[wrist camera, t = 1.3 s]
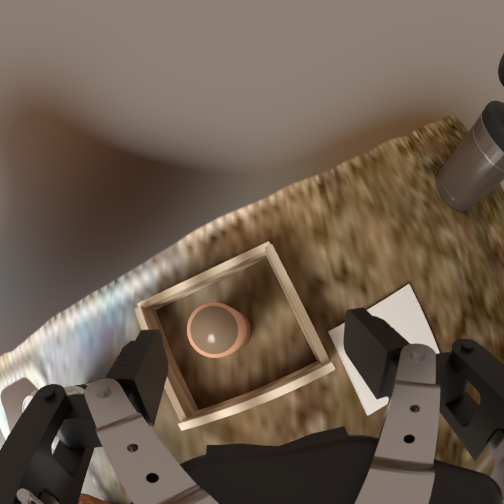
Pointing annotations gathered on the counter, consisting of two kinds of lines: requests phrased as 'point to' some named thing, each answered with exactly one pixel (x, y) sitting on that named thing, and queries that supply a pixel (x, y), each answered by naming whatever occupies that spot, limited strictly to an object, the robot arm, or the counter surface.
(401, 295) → the tile
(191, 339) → the pot
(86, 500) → the tin
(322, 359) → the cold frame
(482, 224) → the counter surface
